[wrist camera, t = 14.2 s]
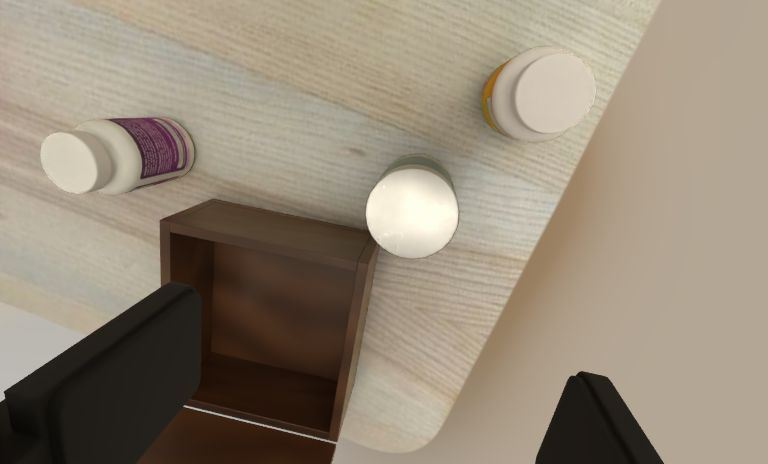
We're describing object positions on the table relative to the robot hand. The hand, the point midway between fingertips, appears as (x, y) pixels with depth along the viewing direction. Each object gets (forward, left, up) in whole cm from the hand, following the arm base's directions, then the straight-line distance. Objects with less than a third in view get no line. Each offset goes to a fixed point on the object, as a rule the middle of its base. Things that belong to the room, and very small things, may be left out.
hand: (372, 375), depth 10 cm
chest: (+13, -10, -24) cm, 28 cm away
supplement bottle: (-8, +6, -24) cm, 26 cm away
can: (0, 0, -24) cm, 24 cm away
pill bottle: (+1, -22, -24) cm, 32 cm away
